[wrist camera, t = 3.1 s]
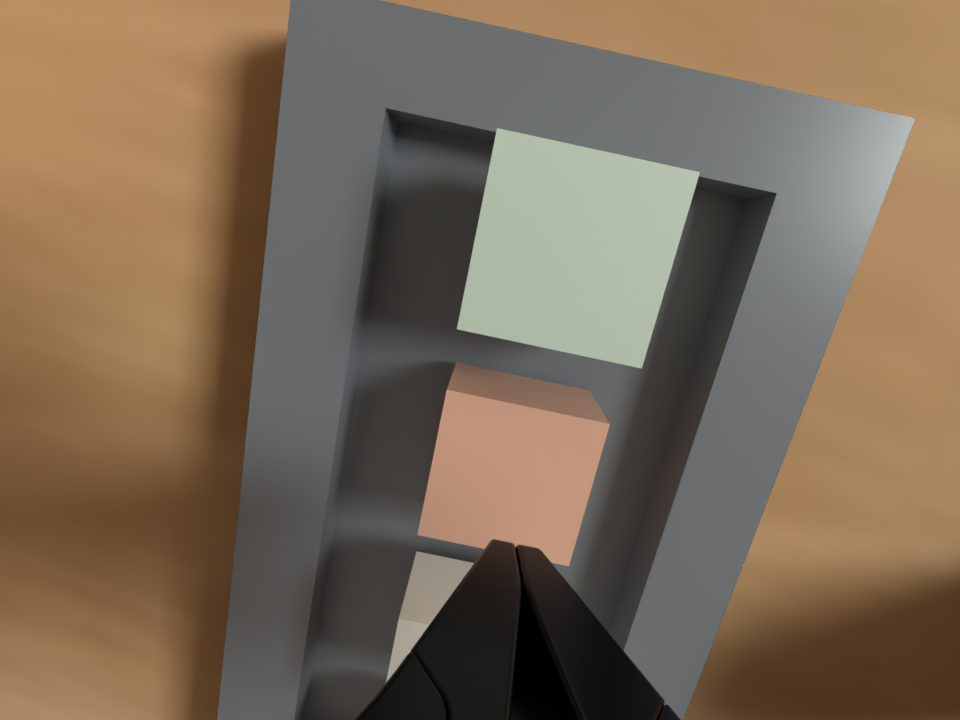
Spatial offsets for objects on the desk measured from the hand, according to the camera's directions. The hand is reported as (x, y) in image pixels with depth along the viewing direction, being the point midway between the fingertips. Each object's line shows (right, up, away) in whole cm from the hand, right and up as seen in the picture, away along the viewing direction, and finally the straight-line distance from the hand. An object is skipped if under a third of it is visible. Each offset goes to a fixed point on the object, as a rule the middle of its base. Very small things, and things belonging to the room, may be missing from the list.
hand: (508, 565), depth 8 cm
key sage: (+1, +6, +4) cm, 7 cm away
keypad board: (0, -1, +8) cm, 8 cm away
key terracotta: (0, +1, +6) cm, 6 cm away
